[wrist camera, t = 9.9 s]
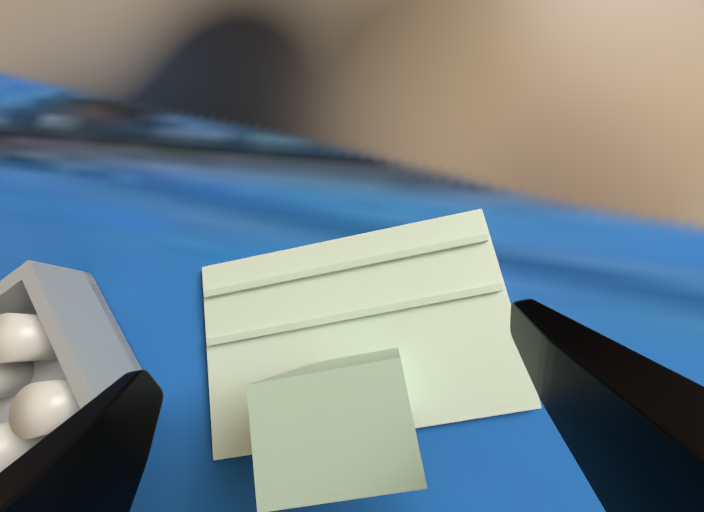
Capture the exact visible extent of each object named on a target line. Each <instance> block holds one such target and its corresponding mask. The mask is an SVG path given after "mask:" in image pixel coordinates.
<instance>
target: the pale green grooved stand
mask: <svg viewBox="0 0 704 512" xmlns="http://www.w3.org/2000/svg"><path fill="white" fill-rule="evenodd" d="M202 278H203V294H204V311H205V328H206V345H207V362H208V379H209V396H210V413H211V430H212V447H213V461H214V460H221V459H227V458H233V457H239V456H246V455H252V458H253V469H254V481H255V492H256V504H257V512H270V511H277V510H284V509H290V508H297V507H304V506H311V505H318V504H325V503H332V502H339V501H346V500H352V499H359V498H366V497H373V496H380V495H387V494H394V493H401V492H408V491H415V490H421V489H427V484H426V479H425V474H424V470H423V465H422V460H421V455H420V450H419V445H418V440H417V436H416V431H415V428H421V427H427V426H433V425H439V424H446V423H452V422H458V421H464V420H471V419H477V418H483V417H489V416H496V415H502V414H508V413H514V412H521V411H527V410H533V409H539V408H542V407H541V404H540V400H539V397H538V394H537V391H536V389H535V387H534V385H533V383H532V381H531V378H530V376H529V374H528V372H527V369H526V367H525V365H524V363H523V361H522V358H521V356H520V354H519V352H518V350H517V347H516V345H515V343H514V341H513V338H512V336H511V332H510V316H511V304H510V301H509V297H508V294H507V291H506V287H505V284H504V281H503V277H502V274H501V271H500V267H499V264H498V261H497V257H496V254H495V251H494V247H493V244H492V241H491V238H490V234H489V231H488V228H487V224H486V221H485V218H484V214H483V211H482V209H478V210H473V211H468V212H463V213H459V214H454V215H449V216H444V217H440V218H435V219H430V220H425V221H420V222H416V223H411V224H406V225H401V226H397V227H392V228H387V229H382V230H377V231H373V232H368V233H363V234H358V235H354V236H349V237H344V238H339V239H335V240H330V241H325V242H320V243H315V244H311V245H306V246H301V247H296V248H292V249H287V250H282V251H277V252H272V253H268V254H263V255H258V256H253V257H249V258H244V259H239V260H234V261H229V262H225V263H220V264H215V265H210V266H206V267H202Z"/></svg>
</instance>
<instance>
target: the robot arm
mask: <svg viewBox="0 0 704 512" xmlns="http://www.w3.org/2000/svg"><path fill="white" fill-rule="evenodd" d="M510 332H511V336H512V338H513V341H514V343H515V345H516V347H517V350H518V352H519V354H520V356H521V358H522V361H523V363H524V365H525V367H526V369H527V372H528V374H529V376H530V378H531V381H532V383H533V385H534V387H535V389H536V391H537V394H538V396H539V398H540V400H541V402H542V403H543V405H544V407H545V409H546V411H547V412H548V414H549V416H550V417H551V419H552V421H553V422H554V424H555V426H556V428H557V429H558V431H559V433H560V434H561V436H562V438H563V439H564V441H565V443H566V445H567V446H568V448H569V450H570V451H571V453H572V455H573V456H574V458H575V460H576V462H577V463H578V465H579V467H580V468H581V470H582V472H583V473H584V475H585V477H586V479H587V480H588V482H589V484H590V485H591V487H592V489H593V490H594V492H595V494H596V496H597V497H598V499H599V501H600V502H601V504H602V506H603V507H604V509H605V511H606V512H704V387H703V386H701V385H699V384H697V383H696V382H694V381H692V380H690V379H688V378H686V377H684V376H682V375H680V374H678V373H676V372H674V371H672V370H670V369H668V368H666V367H664V366H662V365H660V364H658V363H656V362H654V361H652V360H651V359H649V358H647V357H645V356H643V355H641V354H639V353H637V352H635V351H633V350H631V349H629V348H627V347H625V346H623V345H621V344H619V343H617V342H615V341H613V340H611V339H609V338H607V337H606V336H604V335H602V334H600V333H598V332H596V331H594V330H592V329H590V328H588V327H586V326H584V325H582V324H580V323H578V322H576V321H574V320H572V319H570V318H568V317H566V316H564V315H562V314H561V313H559V312H557V311H555V310H553V309H551V308H549V307H547V306H545V305H543V304H541V303H539V302H537V301H535V300H533V299H525V300H519V301H515V302H513V303H512V305H511V316H510ZM162 401H163V392H162V389H161V388H160V386H159V385H158V384H157V383H156V381H155V380H154V379H153V377H152V376H151V375H150V374H149V372H147V371H146V370H137V371H131V372H128V373H126V374H124V375H123V376H122V377H120V378H119V379H118V380H117V381H115V382H114V383H113V384H111V385H110V386H109V387H108V388H106V389H105V390H104V391H103V392H101V393H100V394H99V395H98V396H96V397H95V398H94V399H92V400H91V401H90V402H89V403H87V404H86V405H85V406H84V407H82V408H81V409H80V410H79V411H77V412H76V413H75V414H73V415H72V416H71V417H70V418H68V419H67V420H66V421H65V422H63V423H62V424H61V425H60V426H58V427H57V428H56V429H55V430H53V431H52V432H51V433H49V434H48V435H47V436H46V437H44V438H43V439H42V440H41V441H39V442H38V443H37V444H36V445H34V446H33V447H32V448H30V449H29V450H28V451H27V452H25V453H24V454H23V455H22V456H20V457H19V458H18V459H17V460H15V461H14V462H13V463H11V464H10V465H9V466H8V467H6V468H5V469H4V470H3V471H1V472H0V512H130V509H131V506H132V503H133V500H134V497H135V495H136V492H137V489H138V486H139V483H140V480H141V478H142V475H143V472H144V469H145V466H146V463H147V459H148V456H149V452H150V448H151V444H152V440H153V436H154V433H155V429H156V425H157V421H158V417H159V413H160V409H161V405H162Z"/></svg>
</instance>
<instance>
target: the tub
mask: <svg viewBox="0 0 704 512" xmlns="http://www.w3.org/2000/svg"><path fill="white" fill-rule="evenodd" d="M137 370H142V369H141V367H140V365H139V363H138V361H137V359H136V357H135V355H134V354H133V352H132V350H131V348H130V346H129V344H128V342H127V340H126V338H125V337H124V335H123V333H122V331H121V329H120V327H119V325H118V323H117V321H116V320H115V318H114V316H113V314H112V312H111V310H110V308H109V306H108V304H107V303H106V301H105V299H104V297H103V295H102V293H101V291H100V289H99V287H98V286H97V284H96V282H95V280H94V278H93V276H92V274H91V273H89V272H84V271H79V270H74V269H69V268H65V267H60V266H55V265H50V264H45V263H41V262H36V261H31V260H28V261H26V262H25V263H24V264H22V265H21V266H20V267H18V268H17V269H16V270H14V271H13V272H12V273H10V274H9V275H8V276H6V277H5V278H4V279H2V280H1V281H0V472H1V471H3V470H4V469H5V468H6V467H8V466H9V465H10V464H11V463H13V462H14V461H15V460H17V459H18V458H19V457H20V456H22V455H23V454H24V453H25V452H27V451H28V450H29V449H30V448H32V447H33V446H34V445H36V444H37V443H38V442H39V441H41V440H42V439H43V438H44V437H46V436H47V435H48V434H49V433H51V432H52V431H53V430H55V429H56V428H57V427H58V426H60V425H61V424H62V423H63V422H65V421H66V420H67V419H68V418H70V417H71V416H72V415H73V414H75V413H76V412H77V411H79V410H80V409H81V408H82V407H84V406H85V405H86V404H87V403H89V402H90V401H91V400H92V399H94V398H95V397H96V396H98V395H99V394H100V393H101V392H103V391H104V390H105V389H106V388H108V387H109V386H110V385H111V384H113V383H114V382H115V381H117V380H118V379H119V378H120V377H122V376H123V375H124V374H126V373H128V372H131V371H137ZM161 408H162V407H161Z"/></svg>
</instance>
